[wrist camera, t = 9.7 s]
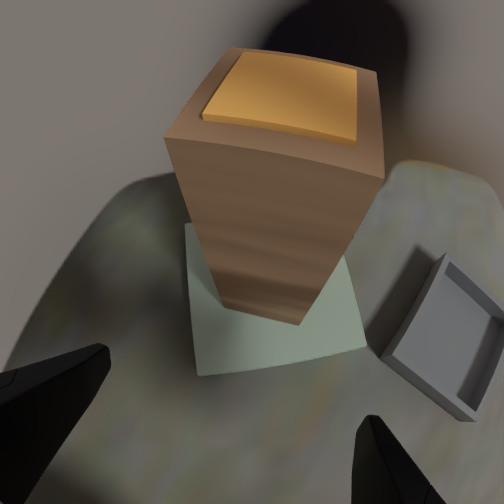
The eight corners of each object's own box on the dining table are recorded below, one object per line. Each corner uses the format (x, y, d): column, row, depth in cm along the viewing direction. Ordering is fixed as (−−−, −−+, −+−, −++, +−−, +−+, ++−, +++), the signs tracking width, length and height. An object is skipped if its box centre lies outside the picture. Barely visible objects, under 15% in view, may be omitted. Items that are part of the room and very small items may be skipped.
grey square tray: (459, 421, 14) (476, 421, 12) (378, 358, 17) (391, 354, 15) (501, 325, 17) (517, 318, 15) (433, 263, 19) (446, 251, 18)
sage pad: (361, 348, 17) (367, 345, 16) (200, 376, 17) (197, 375, 16) (325, 212, 21) (327, 204, 20) (187, 230, 21) (184, 223, 20)
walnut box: (298, 325, 17) (387, 172, 5) (223, 307, 17) (161, 130, 6) (313, 257, 19) (377, 66, 7) (244, 241, 19) (229, 42, 7)
